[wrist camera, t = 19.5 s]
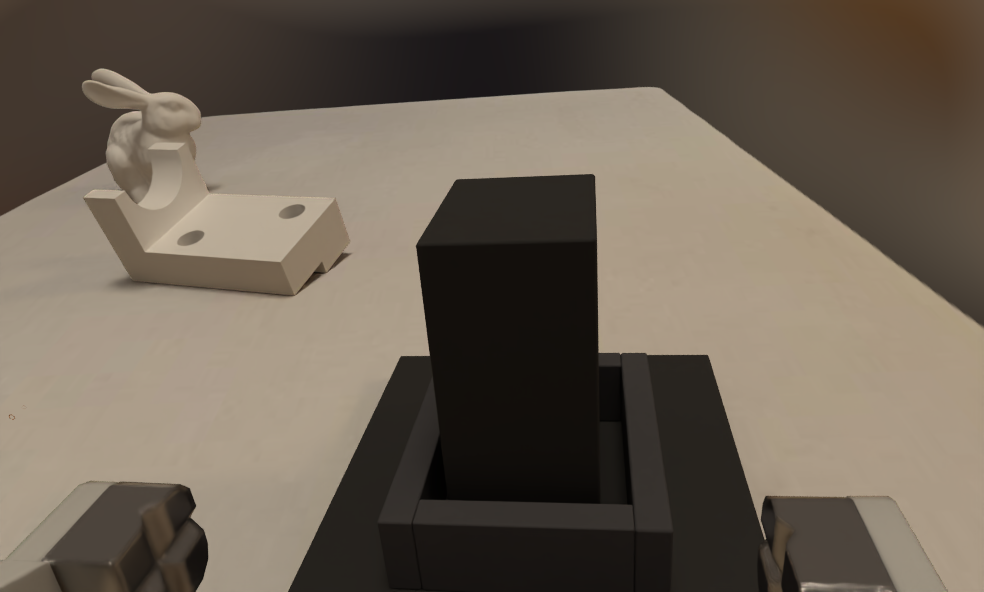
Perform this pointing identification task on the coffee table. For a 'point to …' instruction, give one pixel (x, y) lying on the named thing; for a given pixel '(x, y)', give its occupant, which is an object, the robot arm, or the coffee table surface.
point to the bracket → (217, 231)
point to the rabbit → (140, 127)
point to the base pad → (549, 526)
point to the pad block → (515, 338)
